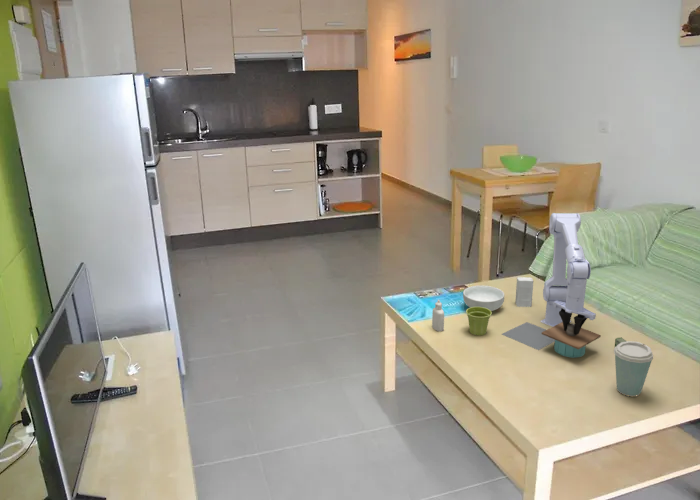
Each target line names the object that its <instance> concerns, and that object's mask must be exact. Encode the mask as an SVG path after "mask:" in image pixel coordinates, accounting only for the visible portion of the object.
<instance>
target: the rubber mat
mask: <svg viewBox="0 0 700 500" xmlns="http://www.w3.org/2000/svg"><path fill="white" fill-rule="evenodd" d="M545 330H547V329H546V328H543V327H540V326H538V325H535V324H533V323H532V322H531V323H530V322H528V321H526V322H523V323H522V324H520V325H518V326H515V327H514V328H513V327H512V328H511V329H510V330H507V331H505V332H502V333H501V335H502V336H503V337H507V338H509V339H512V340H514V341H516V342H519V343H521V344H524V345H525V346H527V347H530V348H532V349H534V350H538V351H540V350H541V349H544V348H545V347H547V346H549V345H551V344H553V343H555V339H552V338H550V337H547V336H545V335H543V334H541V333H542V332H544V331H545Z"/></svg>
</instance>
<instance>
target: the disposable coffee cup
mask: <svg viewBox="0 0 700 500" xmlns="http://www.w3.org/2000/svg"><path fill="white" fill-rule="evenodd" d="M613 353H614V359H615V360H614V361H615V364H614V365H615V382H616V383H615V384H616V385H615V386H616V390H617V392H618V391H619V392H620V393H619V392H618V393H619V394H621V393H622V394H625V395H629V396H636V395H638V396H639V394H641V393H642V391H643V388H644V385H645V382H646V379H647V375H648V373H649V370H650V367H651V363H652V361H653V360H654V355H653V351H652V348H651V347H650V346H648V345H647V344H645V343H642V342H640V341H635V340H634V341H630V340H628V341H627V340H626V342H621V343H620V344H618V345H617V346H616V347H615V346H614V349H613ZM622 394H621V395H622ZM625 395H624V396H625ZM629 396H628V397H629ZM636 397H637V396H636Z"/></svg>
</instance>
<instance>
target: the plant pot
mask: <svg viewBox="0 0 700 500" xmlns="http://www.w3.org/2000/svg"><path fill="white" fill-rule="evenodd" d="M465 313H466V315H467V319H468V328H469V332H470V334H472V335H474V336H485V335H486V334H487V330H488V325H489V321H490V318H491V315H493V314H492V313H493V311H490V310H489V309H487V308H484V307H471V308H470V307H468V308H467V309H466V311H465Z"/></svg>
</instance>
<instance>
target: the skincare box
mask: <svg viewBox="0 0 700 500" xmlns="http://www.w3.org/2000/svg"><path fill="white" fill-rule="evenodd" d="M515 285H516V286H515V287H516V289H515V300H514V301H515V305H516V307H519V308H520V307H522V308H524V307H525V308H527V307H528V308H529V307H530V308H531V307H532V306H533V305H532V303H533V295H534V294H533V291H534V280H533V277H524V276H522V277H521V276H519V277H518V276H517V277H516V284H515Z"/></svg>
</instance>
